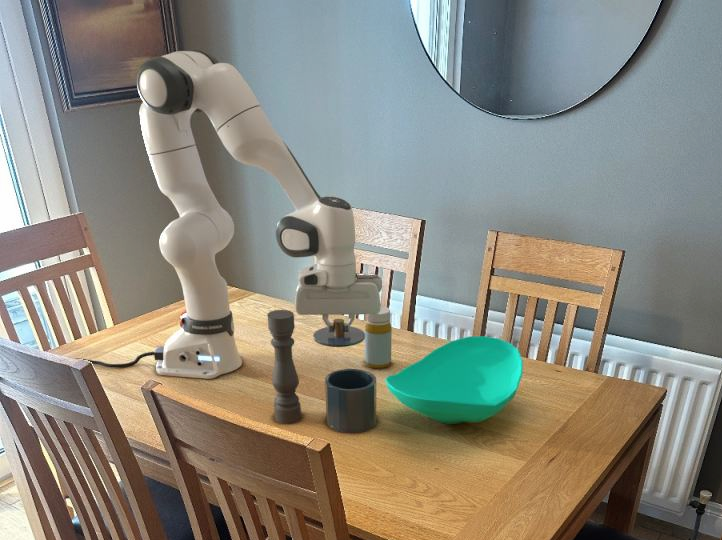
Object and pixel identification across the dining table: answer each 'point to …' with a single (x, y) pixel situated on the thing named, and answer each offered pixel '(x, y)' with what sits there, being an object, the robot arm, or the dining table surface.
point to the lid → (339, 335)
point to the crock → (350, 400)
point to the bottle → (378, 339)
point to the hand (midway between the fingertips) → (338, 331)
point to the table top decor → (461, 380)
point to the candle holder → (284, 367)
